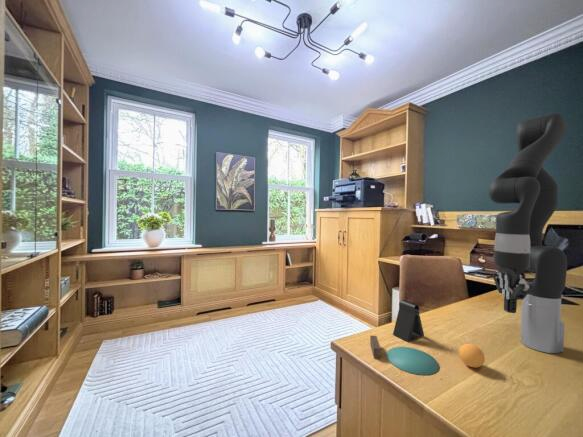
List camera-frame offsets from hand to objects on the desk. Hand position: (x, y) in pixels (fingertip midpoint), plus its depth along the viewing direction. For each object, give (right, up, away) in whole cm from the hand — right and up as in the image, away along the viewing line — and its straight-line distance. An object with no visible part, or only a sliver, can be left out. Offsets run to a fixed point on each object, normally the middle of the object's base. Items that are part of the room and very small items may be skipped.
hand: (509, 311), depth 70 cm
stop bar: (-34, -16, +9) cm, 39 cm away
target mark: (-25, -16, +5) cm, 30 cm away
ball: (-9, -13, +2) cm, 16 cm away
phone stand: (-19, -16, +20) cm, 32 cm away
